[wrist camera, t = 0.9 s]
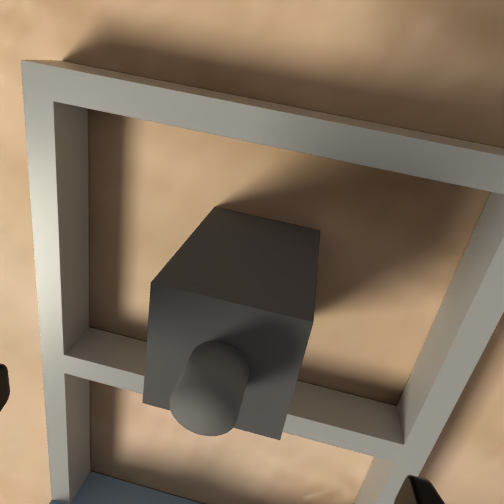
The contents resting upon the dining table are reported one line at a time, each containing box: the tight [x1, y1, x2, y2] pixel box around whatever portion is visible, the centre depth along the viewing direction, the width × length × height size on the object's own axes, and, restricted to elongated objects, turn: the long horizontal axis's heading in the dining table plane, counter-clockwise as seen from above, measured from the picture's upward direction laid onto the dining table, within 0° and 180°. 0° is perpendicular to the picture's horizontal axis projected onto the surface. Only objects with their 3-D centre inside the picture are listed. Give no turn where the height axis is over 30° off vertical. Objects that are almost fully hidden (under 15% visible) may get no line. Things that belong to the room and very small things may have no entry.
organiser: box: [21, 60, 504, 504], centre depth 16 cm, size 22×16×6 cm
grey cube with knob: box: [143, 207, 320, 440], centre depth 13 cm, size 4×4×8 cm
